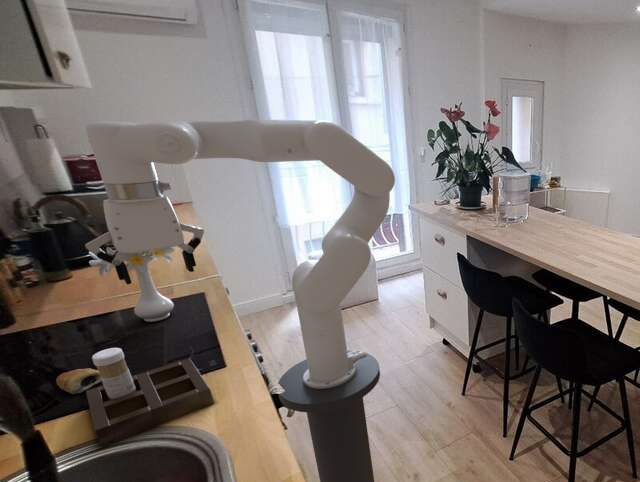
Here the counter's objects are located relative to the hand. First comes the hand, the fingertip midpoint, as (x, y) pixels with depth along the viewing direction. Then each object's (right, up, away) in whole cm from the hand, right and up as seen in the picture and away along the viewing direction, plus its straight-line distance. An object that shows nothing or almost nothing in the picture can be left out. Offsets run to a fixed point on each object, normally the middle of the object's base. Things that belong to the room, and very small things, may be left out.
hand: (160, 276), depth 83 cm
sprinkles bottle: (-15, -29, +8) cm, 34 cm away
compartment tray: (-9, -29, +9) cm, 31 cm away
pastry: (-32, -26, +14) cm, 44 cm away
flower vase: (-44, -14, +46) cm, 65 cm away
